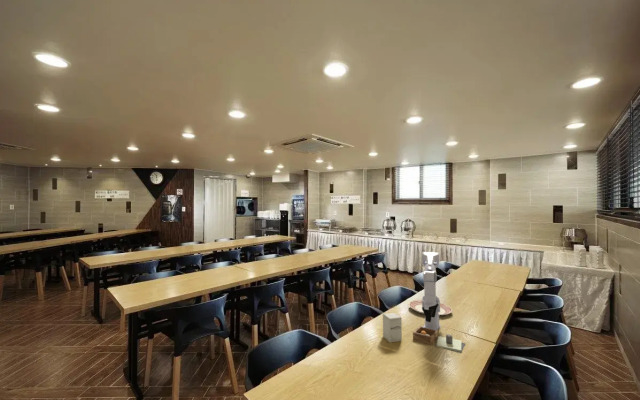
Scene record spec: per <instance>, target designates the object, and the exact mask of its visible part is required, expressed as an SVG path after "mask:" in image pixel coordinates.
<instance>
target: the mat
mask: <svg viewBox="0 0 640 400" xmlns="http://www.w3.org/2000/svg"><path fill="white" fill-rule="evenodd" d="M434 346H435V347H437V342H435V343H434ZM465 346H466V342H462V345H461V352H459V351H455V350H450V349H447V351H448V350H449V351H452V352H455V353H458V354H462V351H463V350H464V348H465ZM443 349H444V350H446V349H445V348H443Z"/></svg>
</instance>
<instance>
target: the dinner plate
mask: <svg viewBox="0 0 640 400" xmlns="http://www.w3.org/2000/svg"><path fill="white" fill-rule="evenodd" d="M408 306H409V307H410V309H412V310H413V311H416V312H417V313H420V314H422V315H425V314H424V312H423V310H422V299H418V300H412V301H410V302H409V303H408ZM452 312H453V309H452V308H451V307H450V306H449V305H446V304H445V303H441V302H440V312H439V317H440V315H441V316H445V315H446V316H447V315H449V314H451V313H452Z"/></svg>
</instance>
